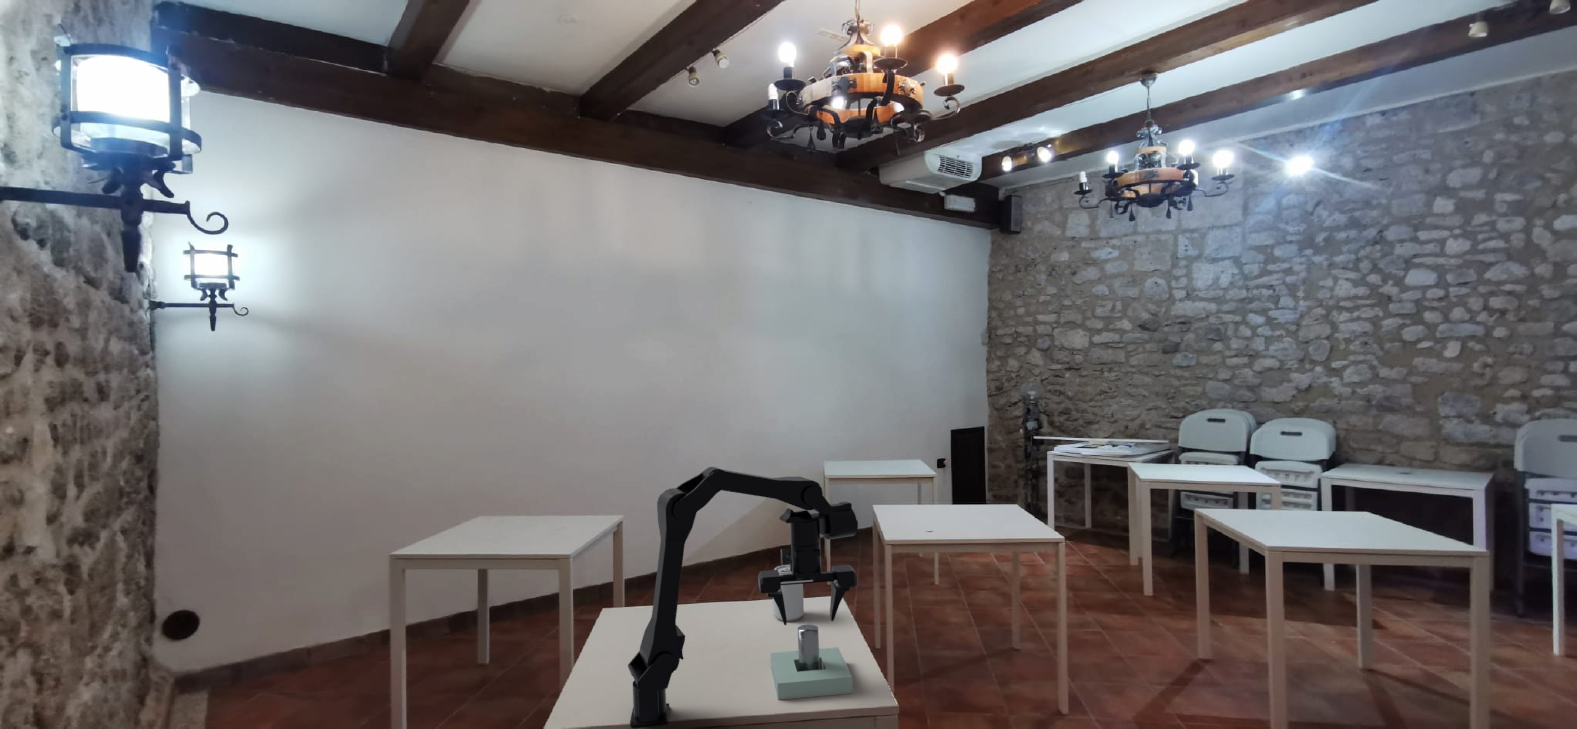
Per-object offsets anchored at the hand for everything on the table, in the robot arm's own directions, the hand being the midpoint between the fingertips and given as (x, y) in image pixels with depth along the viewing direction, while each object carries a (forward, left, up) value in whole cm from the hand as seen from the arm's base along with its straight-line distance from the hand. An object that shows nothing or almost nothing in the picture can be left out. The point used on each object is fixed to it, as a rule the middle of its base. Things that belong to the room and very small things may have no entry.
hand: (808, 622), depth 138 cm
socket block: (0, 0, -11) cm, 11 cm away
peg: (0, 0, -11) cm, 11 cm away
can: (+35, 0, -11) cm, 37 cm away
